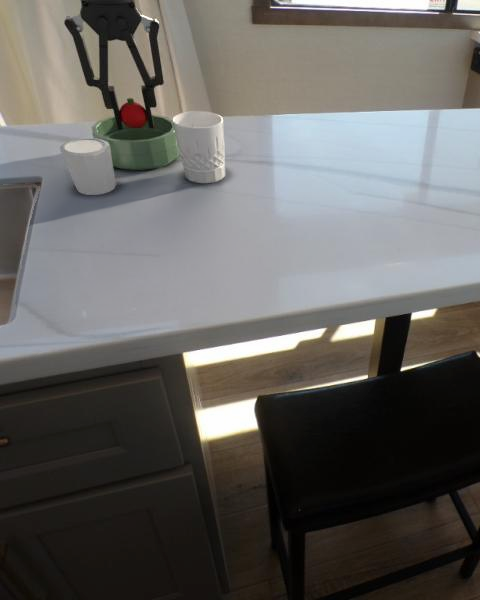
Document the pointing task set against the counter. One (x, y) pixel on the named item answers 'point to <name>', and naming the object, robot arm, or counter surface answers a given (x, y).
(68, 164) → the white cylinder
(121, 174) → the counter surface
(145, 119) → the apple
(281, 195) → the counter surface
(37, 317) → the counter surface
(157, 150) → the bowl
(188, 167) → the white cup
